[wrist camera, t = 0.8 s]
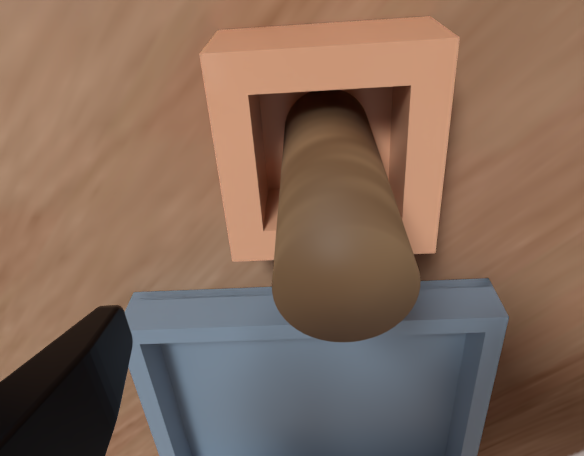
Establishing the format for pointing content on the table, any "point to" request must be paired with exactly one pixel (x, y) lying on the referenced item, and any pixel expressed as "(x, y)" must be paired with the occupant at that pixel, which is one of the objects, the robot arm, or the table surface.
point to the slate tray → (314, 375)
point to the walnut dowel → (339, 227)
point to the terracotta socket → (318, 77)
